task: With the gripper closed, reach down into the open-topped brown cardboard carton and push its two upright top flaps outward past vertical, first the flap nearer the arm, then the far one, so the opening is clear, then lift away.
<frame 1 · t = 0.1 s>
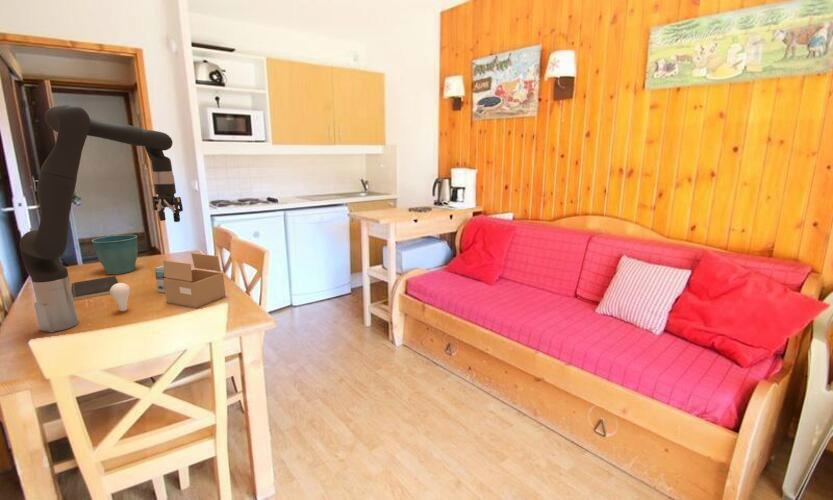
hand: (169, 221, 173), 29 cm above the table, tool pointing down, fingers open, 8 cm apart
far flap: (206, 262, 166), point 14 cm above the table, hinge at 85.0°
lightbulb: (124, 311, 152), on the table
hardcover book: (96, 291, 177), on the table
light bulb box: (173, 289, 177), on the table
near flap: (177, 270, 155), point 14 cm above the table, hinge at 85.0°
carton: (196, 299, 164), on the table
flower pot: (121, 271, 203), on the table
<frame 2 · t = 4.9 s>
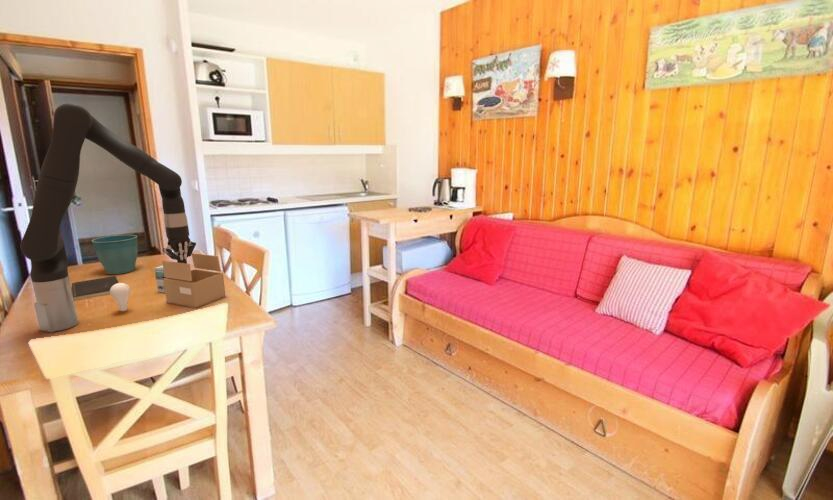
hand: (183, 268, 157), 14 cm above the table, tool pointing down, fingers closed
near flap: (176, 270, 155), point 14 cm above the table, hinge at 88.3°, touching gripper
everything else where it was.
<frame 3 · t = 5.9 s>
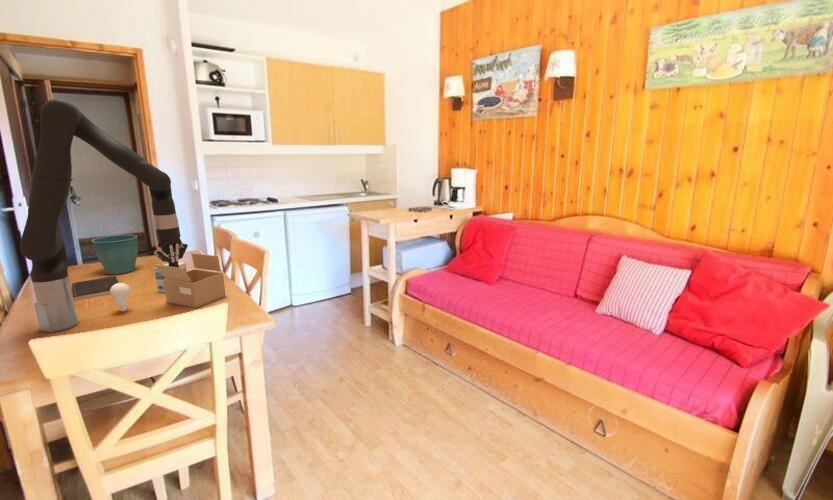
hand: (174, 271, 154), 14 cm above the table, tool pointing down, fingers closed
near flap: (172, 272, 153), point 14 cm above the table, hinge at 117.2°, touching gripper
everything else where it was.
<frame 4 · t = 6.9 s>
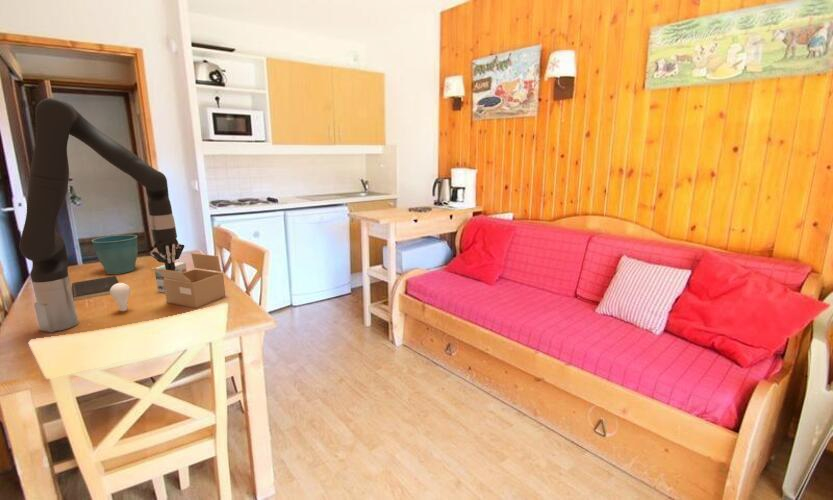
hand: (171, 272, 152), 14 cm above the table, tool pointing down, fingers closed
near flap: (171, 274, 153), point 13 cm above the table, hinge at 131.4°, touching gripper
everything else where it was.
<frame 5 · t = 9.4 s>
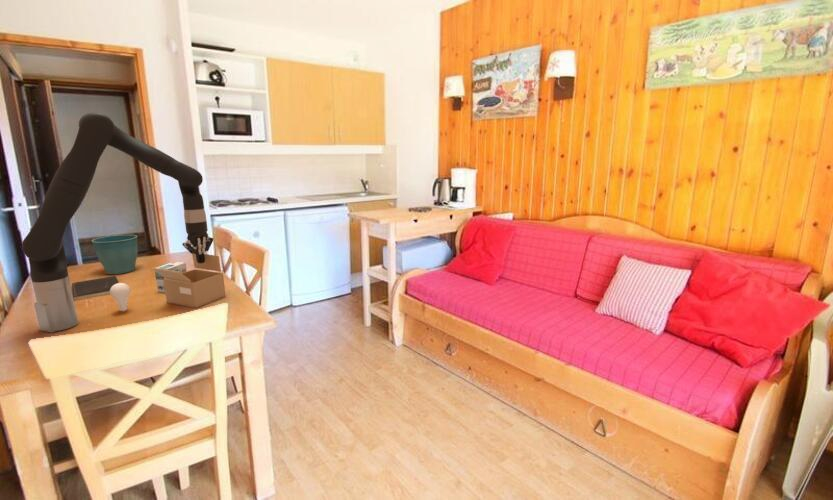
hand: (201, 262, 164), 14 cm above the table, tool pointing down, fingers closed
far flap: (206, 261, 167), point 14 cm above the table, hinge at 88.2°, touching gripper
near flap: (171, 274, 153), point 13 cm above the table, hinge at 131.6°
everything else where it was.
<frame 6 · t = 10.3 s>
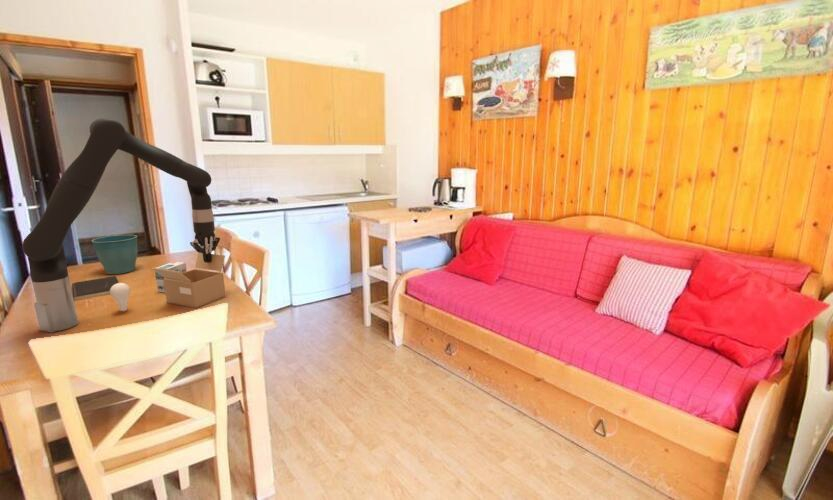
hand: (207, 262, 167), 14 cm above the table, tool pointing down, fingers closed
far flap: (209, 261, 168), point 14 cm above the table, hinge at 114.9°, touching gripper
everything else where it was.
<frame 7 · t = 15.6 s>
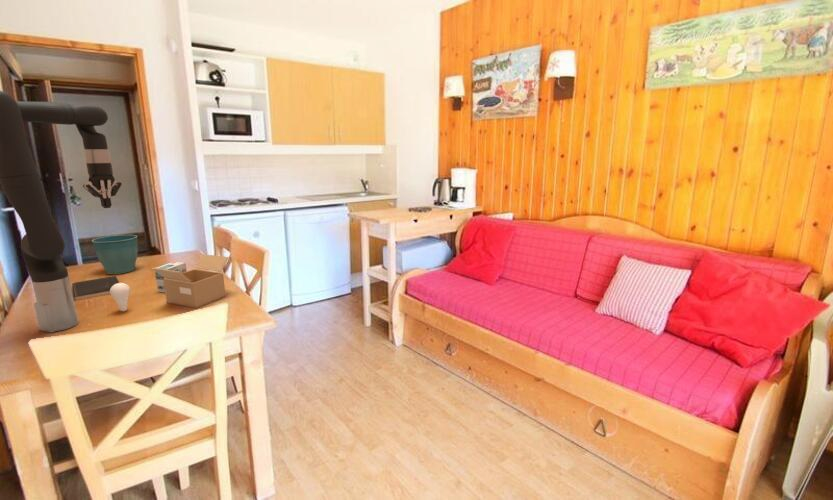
hand: (107, 207, 157), 37 cm above the table, tool pointing down, fingers closed
far flap: (211, 262, 169), point 13 cm above the table, hinge at 132.2°
everything else where it was.
at the end: near flap at +132° (first picture: +85°); far flap at +132° (first picture: +85°); far flap touching nothing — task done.
